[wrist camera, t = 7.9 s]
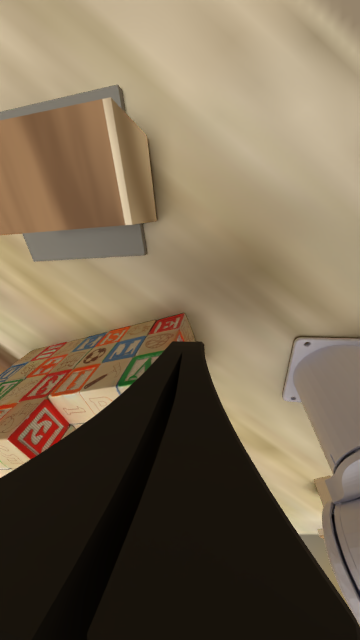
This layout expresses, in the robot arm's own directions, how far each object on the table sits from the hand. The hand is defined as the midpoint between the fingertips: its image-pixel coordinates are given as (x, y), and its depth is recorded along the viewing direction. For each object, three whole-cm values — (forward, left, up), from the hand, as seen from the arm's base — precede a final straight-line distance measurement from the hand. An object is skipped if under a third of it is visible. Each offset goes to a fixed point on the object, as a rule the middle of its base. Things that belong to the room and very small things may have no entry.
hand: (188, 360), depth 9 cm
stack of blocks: (+11, +8, -11) cm, 18 cm away
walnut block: (+3, -8, -7) cm, 11 cm away
